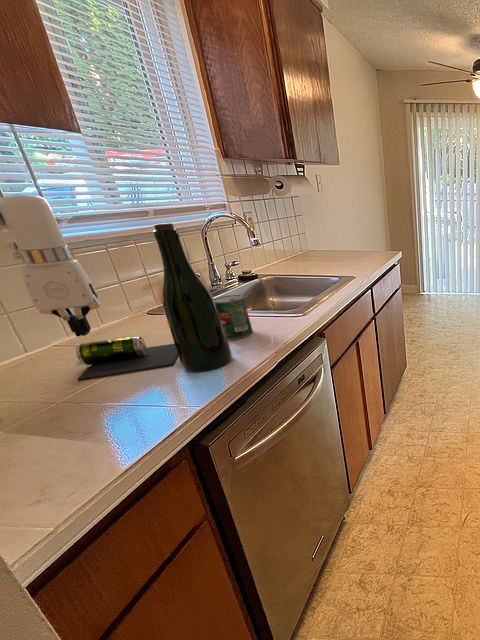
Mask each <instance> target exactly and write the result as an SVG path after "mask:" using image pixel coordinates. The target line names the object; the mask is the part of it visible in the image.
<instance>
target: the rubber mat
mask: <svg viewBox="0 0 480 640" xmlns="http://www.w3.org/2000/svg"><path fill="white" fill-rule="evenodd" d="M146 349H147V353H146V355H143V356H141V357H136V358H130V359H123V360H117V361H111V362H104V363H98V364H92V365H89V367H88V368H87V369H86V370H84V372H83V373H82V374H81V375H80V376H79V377H78V378H77V381H78V382H80V381H85V380H92V379H98V378H99V379H100V378H104V377H110V376H116V375H117V376H118V375H122V374H129V373H135V372H141V371H147V370H154V369H159V368H167V367H173V366H174V364H175V363H176V360H177V359H178V358H179V356H178V353H177V350H176V347H175V344H174V343H170V344H169V343H168V344H161V345H155V346H149V347H148V346H147V347H146Z"/></svg>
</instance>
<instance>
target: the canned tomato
mask: <svg viewBox="0 0 480 640" xmlns="http://www.w3.org/2000/svg"><path fill="white" fill-rule="evenodd" d="M213 299H214V302H215V304H216V307H217V310H218V313H219V316H220V319H221V322H222V325H223V328H224V331H225V334H226V337H227V340H228V341H233V340H239V339H244V338H247V337H249V336H252V335H253V333H254V330H253V326H252V323H251V320H250V315H249V312H248V308H247V304H246V301H245V297H244V295H242V294H229V295H223V296H222V295H221V296H218V297H215V298H213Z"/></svg>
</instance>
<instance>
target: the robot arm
mask: <svg viewBox="0 0 480 640" xmlns="http://www.w3.org/2000/svg"><path fill="white" fill-rule="evenodd" d="M8 232H9V233H10V235H11V237H12V239H13V241H14V243H15V246H16V247H17V249H18V250H17V252H13V253H12V257H13V258H14V259H15V260H21V261H22V262H23V263H25V264H22V265H20V269H21V273H22V274H21V275H22V278H23V282H24V285H25V288H26V290H27V293H28V296H29V298H30V301H31V302H32V304H33V306H34V308H36V309H37V310H38V311H39V313H40V314H42V315H54V316H57V317H59V318H61V319H62V320H63V321H65V322H66V323H67V325H68V326H69V328H70V331H71V332H72V333H74V334H75V337H77V338H78V337H81V336H82V337H83V336H84V337H85V336H87V335H88V334H90V332H91V330H92V329H91V325H90V322H89V321H88V318H87V316H88V314H89V313H90V312H91V311H92V310H96V309H99V308H100V307H102V306H103V305H102V303H101V302H100V300H99V296H98V293H97V291H96V288H95V286H94V284H93V282H92V281H91V278H90V277H89V276H88V273H87V272H86V270H85V269H84V268H83V266H82V265H81V263H80V262H79V261H78V260H77V259H74V258H73V256H72V254H71V251H70V249H69V246H68V245H67V242H66V240H65V237H64V235H63V233H62V230H61V228H60V226H59V224H58V221H57V219H56V216H55V215H54V212H53V210H52V208H51V205H50V203H49V202H48V201H47V199H45V198H44V197H42V196H40V195H9V196H7V195H5V196H0V234H3V233H8ZM72 308H73V310H72ZM73 311H74V312H73Z"/></svg>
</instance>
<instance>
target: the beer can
mask: <svg viewBox="0 0 480 640" xmlns="http://www.w3.org/2000/svg"><path fill="white" fill-rule="evenodd" d="M146 348H147V345H146V342H145V339H144V338H143V337H142V336H141V335H140V336H135V335H132V336H126V337H119V338H113V339H105V340H97V341H90V342H83V343H79V344H78V345H77V346H76V347H75V354H76V357H77V359H78V361H79V363H80V364H82V365H85V366H91V365H92V364H98V363H104V362H111V361H117V360H123V359H130V358H136V357H141V356H143V355H146V353H147V349H146Z"/></svg>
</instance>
